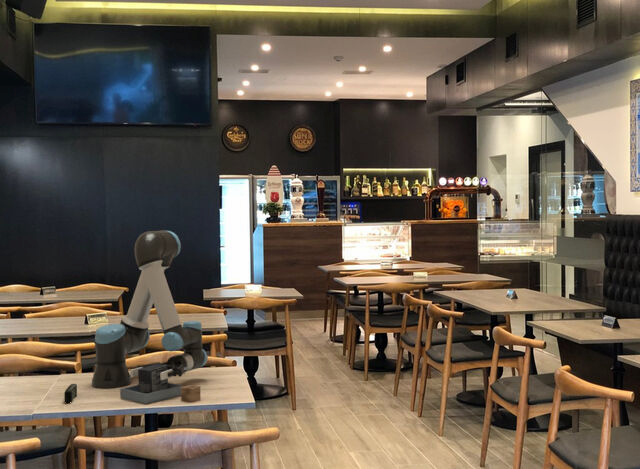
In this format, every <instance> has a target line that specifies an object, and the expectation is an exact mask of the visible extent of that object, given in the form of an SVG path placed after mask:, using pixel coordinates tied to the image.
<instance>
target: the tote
mask: <svg viewBox="0 0 640 469" xmlns="http://www.w3.org/2000/svg"><path fill="white" fill-rule="evenodd" d="M181 387H184V385H182V384H178V383H172V382H168V389H165V390H161V391H156V392H152V393H148V394H145V393H140V392H139V384H136V385H131V386H127V387H126V386H125V387H123V388H122V387H121V388H120V389H119V390H120V391H119V393H120V400H125V401H131V402H134V403H139V404H142V405H150V404H153V403H158V402H162V401H165V400H171V399H173V398H177V397H181Z"/></svg>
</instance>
